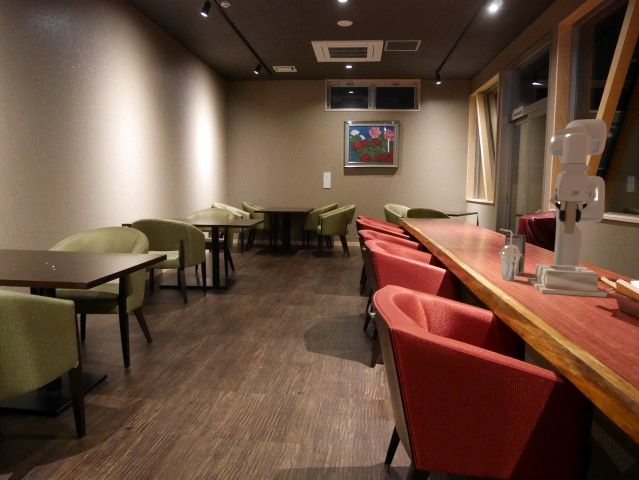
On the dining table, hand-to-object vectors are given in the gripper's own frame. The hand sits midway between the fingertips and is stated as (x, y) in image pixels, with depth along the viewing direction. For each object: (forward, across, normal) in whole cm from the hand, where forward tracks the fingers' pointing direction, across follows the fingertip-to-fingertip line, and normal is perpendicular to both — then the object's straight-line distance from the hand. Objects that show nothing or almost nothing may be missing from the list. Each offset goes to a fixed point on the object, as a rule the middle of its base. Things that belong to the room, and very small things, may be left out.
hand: (569, 221), depth 171 cm
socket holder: (+24, 0, 0) cm, 24 cm away
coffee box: (+24, +12, -28) cm, 39 cm away
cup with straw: (+24, +17, -12) cm, 32 cm away
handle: (+4, 0, 0) cm, 4 cm away
